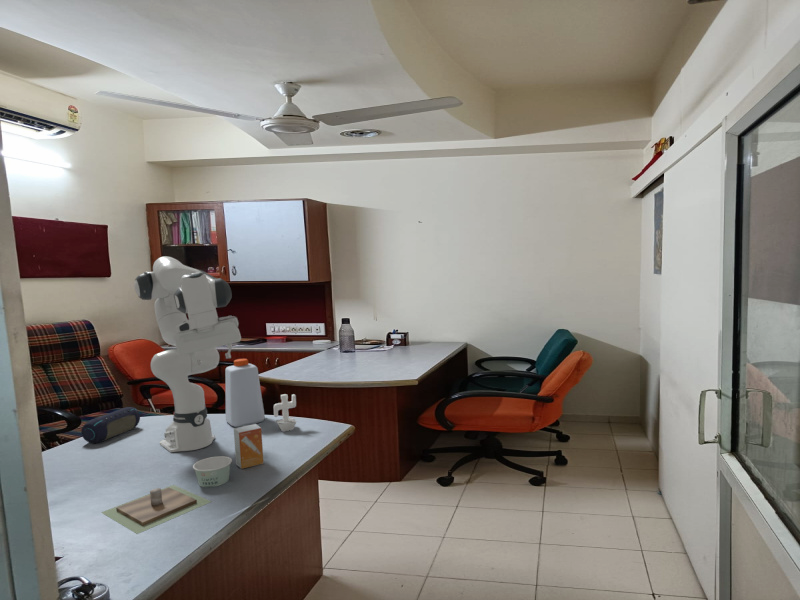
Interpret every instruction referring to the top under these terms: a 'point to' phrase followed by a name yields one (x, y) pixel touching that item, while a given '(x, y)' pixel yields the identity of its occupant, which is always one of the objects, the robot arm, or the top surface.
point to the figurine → (285, 413)
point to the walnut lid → (156, 505)
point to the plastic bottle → (243, 394)
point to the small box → (248, 446)
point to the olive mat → (139, 528)
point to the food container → (213, 471)
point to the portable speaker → (110, 425)
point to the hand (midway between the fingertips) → (214, 361)
